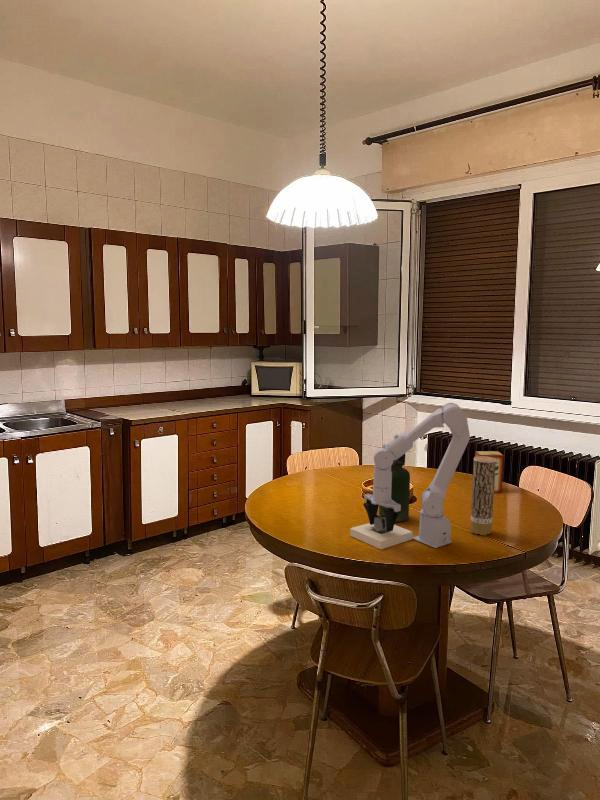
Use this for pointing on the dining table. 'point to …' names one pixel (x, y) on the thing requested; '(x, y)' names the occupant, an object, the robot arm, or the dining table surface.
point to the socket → (380, 536)
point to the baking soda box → (498, 467)
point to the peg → (380, 524)
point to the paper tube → (482, 495)
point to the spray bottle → (399, 489)
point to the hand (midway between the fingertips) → (381, 527)
